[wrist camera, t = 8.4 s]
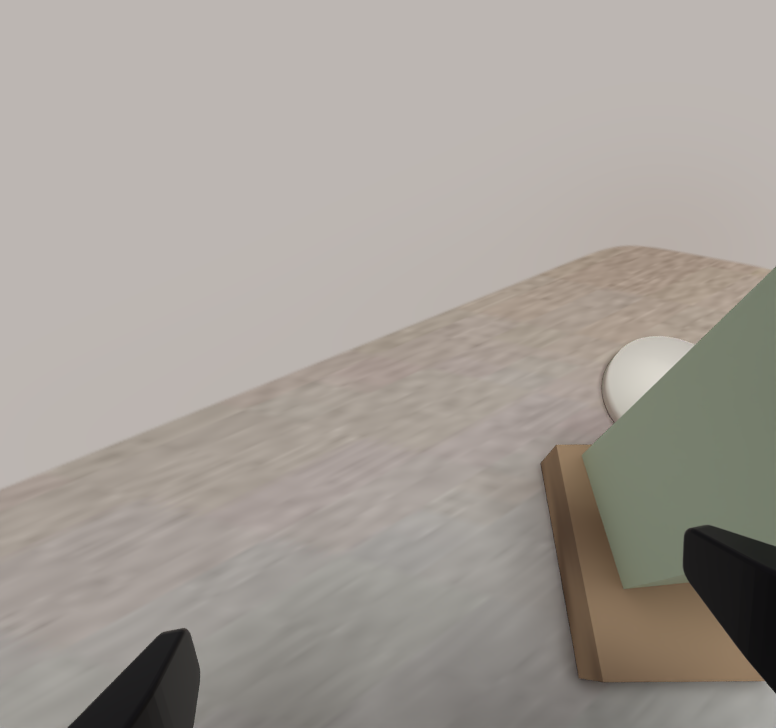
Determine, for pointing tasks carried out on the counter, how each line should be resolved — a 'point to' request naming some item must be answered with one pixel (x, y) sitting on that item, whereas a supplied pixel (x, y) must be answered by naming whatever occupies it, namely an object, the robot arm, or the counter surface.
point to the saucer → (639, 370)
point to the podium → (627, 599)
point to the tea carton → (694, 448)
